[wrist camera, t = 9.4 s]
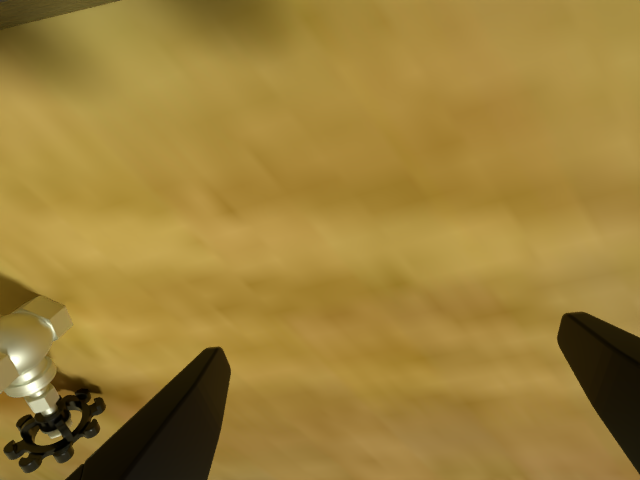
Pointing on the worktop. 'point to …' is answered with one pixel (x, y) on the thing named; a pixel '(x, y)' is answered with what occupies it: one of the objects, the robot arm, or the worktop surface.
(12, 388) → the valve
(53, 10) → the square hole board
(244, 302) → the worktop surface
